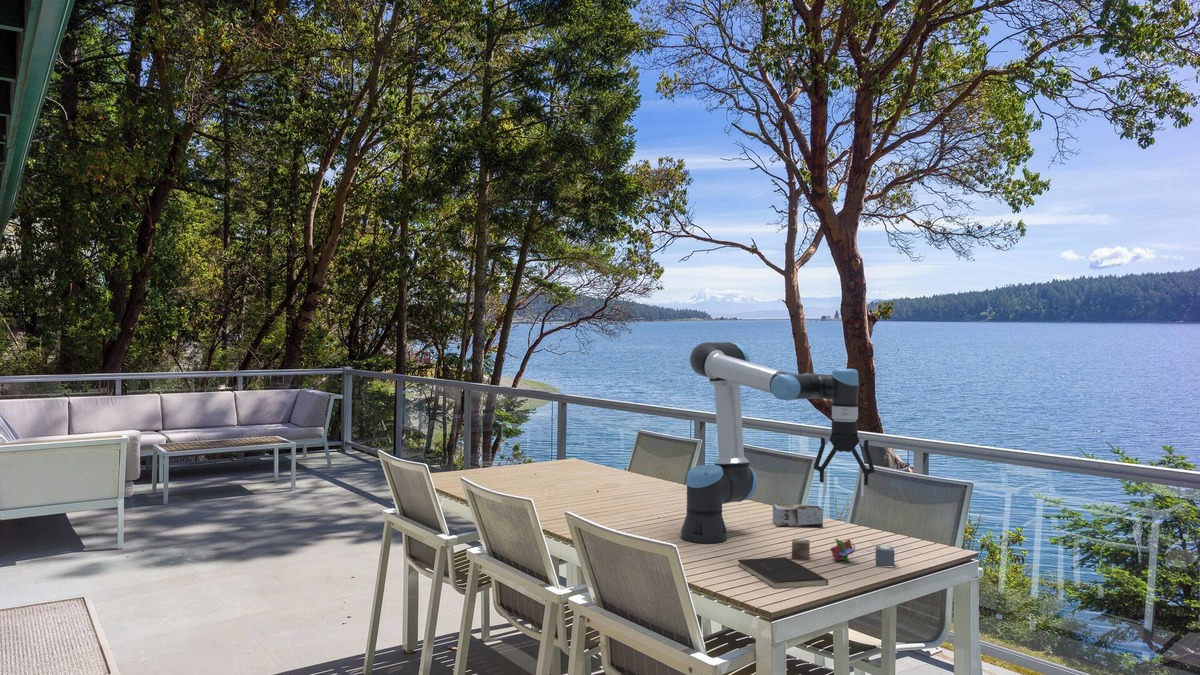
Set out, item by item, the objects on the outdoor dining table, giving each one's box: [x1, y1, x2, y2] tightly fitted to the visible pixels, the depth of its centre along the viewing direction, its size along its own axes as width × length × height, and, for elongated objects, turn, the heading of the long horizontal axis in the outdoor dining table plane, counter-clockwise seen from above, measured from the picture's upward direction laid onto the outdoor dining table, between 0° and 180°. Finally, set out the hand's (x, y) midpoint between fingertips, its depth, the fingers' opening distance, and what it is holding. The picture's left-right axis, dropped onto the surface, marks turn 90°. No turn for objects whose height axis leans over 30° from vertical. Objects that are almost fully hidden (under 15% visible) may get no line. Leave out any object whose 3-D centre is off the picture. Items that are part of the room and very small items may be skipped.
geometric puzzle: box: [830, 538, 857, 564], centre depth 253 cm, size 7×7×8 cm
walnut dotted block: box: [791, 538, 811, 561], centre depth 256 cm, size 5×5×5 cm
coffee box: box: [772, 503, 824, 528], centre depth 302 cm, size 9×6×16 cm
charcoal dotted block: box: [874, 545, 895, 568], centre depth 250 cm, size 5×5×5 cm
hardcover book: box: [737, 556, 829, 589], centre depth 237 cm, size 16×23×2 cm
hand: (843, 494), depth 253 cm, fingers open, 10 cm apart
